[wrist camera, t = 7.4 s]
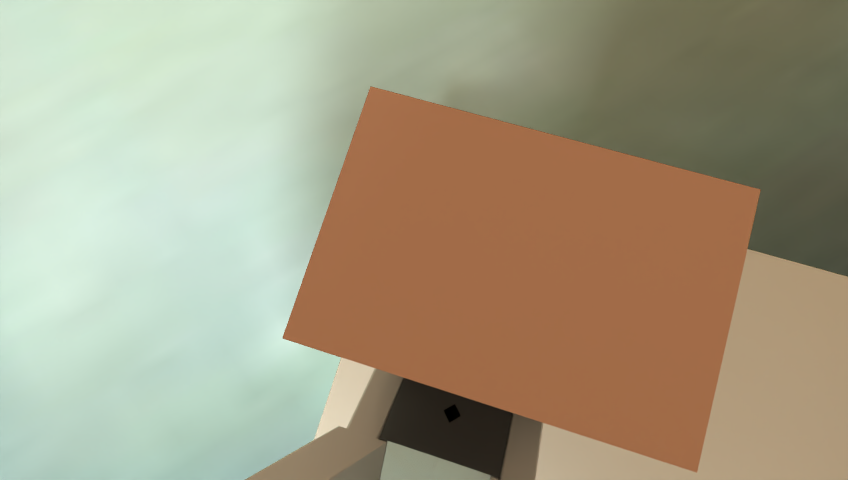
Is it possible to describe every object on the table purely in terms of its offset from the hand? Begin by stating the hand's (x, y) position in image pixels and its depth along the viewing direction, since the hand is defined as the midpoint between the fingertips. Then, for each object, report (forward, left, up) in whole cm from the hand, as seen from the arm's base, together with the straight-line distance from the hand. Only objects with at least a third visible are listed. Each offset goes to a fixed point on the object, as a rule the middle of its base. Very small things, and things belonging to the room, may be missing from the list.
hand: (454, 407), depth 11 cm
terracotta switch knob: (+1, -2, -7) cm, 7 cm away
